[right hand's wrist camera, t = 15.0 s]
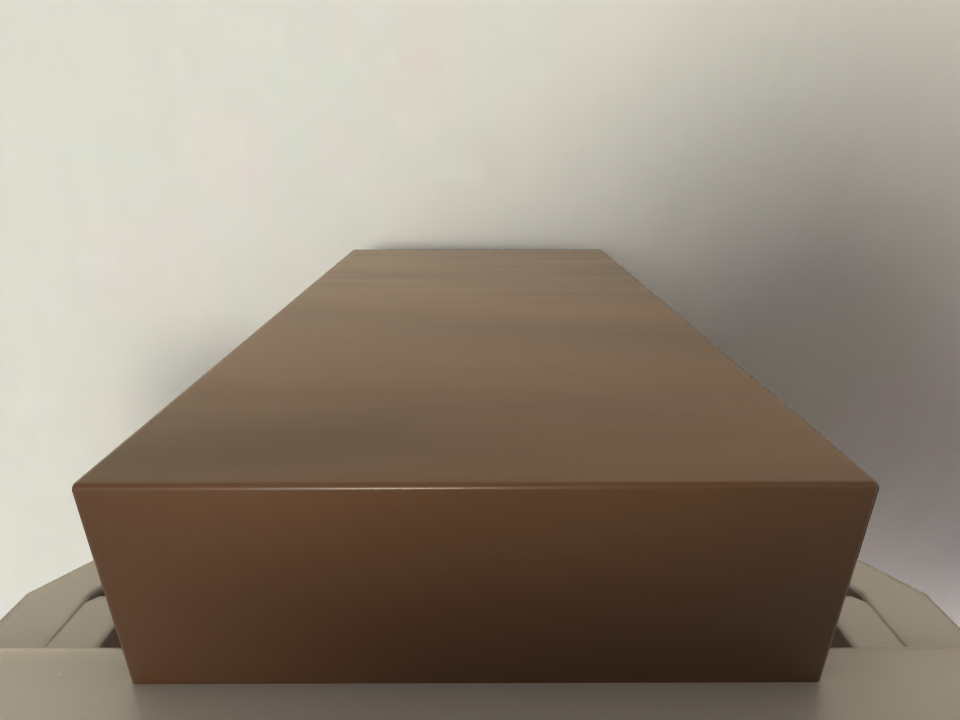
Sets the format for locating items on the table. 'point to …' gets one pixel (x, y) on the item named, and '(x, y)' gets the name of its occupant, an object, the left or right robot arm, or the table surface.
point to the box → (475, 493)
